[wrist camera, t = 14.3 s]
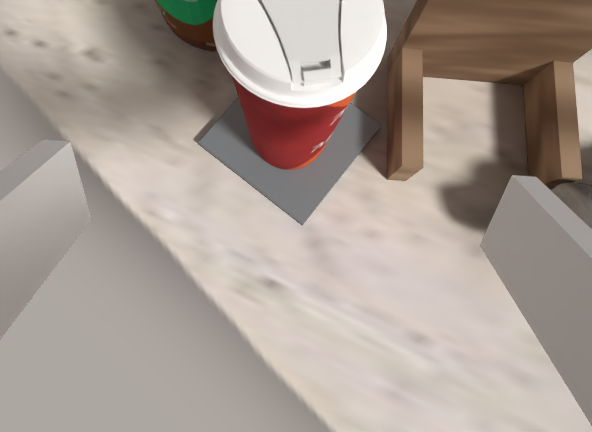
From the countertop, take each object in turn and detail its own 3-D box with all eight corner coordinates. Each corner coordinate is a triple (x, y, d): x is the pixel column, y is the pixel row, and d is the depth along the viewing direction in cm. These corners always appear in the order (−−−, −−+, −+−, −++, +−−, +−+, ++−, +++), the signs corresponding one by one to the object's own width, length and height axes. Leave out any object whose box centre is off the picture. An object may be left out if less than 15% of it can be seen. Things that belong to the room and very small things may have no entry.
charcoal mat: (378, 128, 31) (380, 125, 30) (302, 225, 29) (302, 224, 28) (280, 54, 31) (280, 50, 31) (199, 145, 29) (198, 142, 29)
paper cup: (347, 175, 29) (415, 78, 15) (247, 191, 28) (223, 105, 15) (327, 81, 30) (373, -87, 17) (230, 94, 30) (194, -70, 16)
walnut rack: (547, 190, 31) (721, 131, 19) (386, 179, 30) (461, 111, 18) (539, 70, 32) (692, -53, 21) (388, 57, 32) (457, -78, 20)
